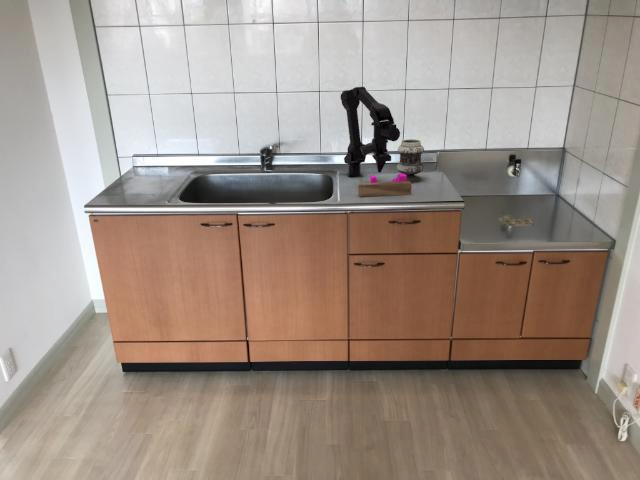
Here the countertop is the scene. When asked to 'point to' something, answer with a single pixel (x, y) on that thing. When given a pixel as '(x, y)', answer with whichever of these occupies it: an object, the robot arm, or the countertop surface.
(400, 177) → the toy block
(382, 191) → the walnut board
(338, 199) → the countertop surface
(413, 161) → the apothecary jar
